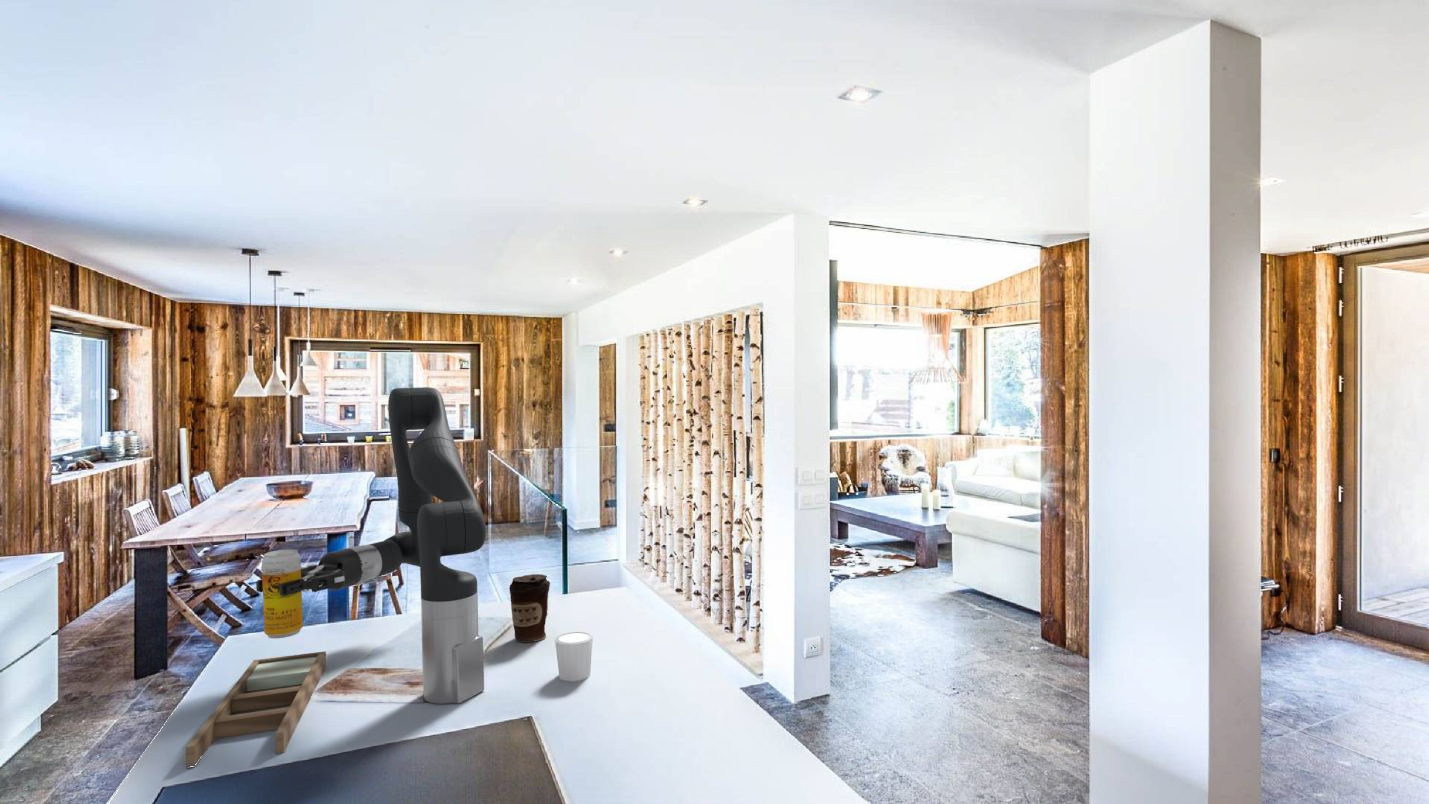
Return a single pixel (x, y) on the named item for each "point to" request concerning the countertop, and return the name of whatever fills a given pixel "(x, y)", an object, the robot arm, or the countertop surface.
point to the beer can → (280, 610)
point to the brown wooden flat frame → (263, 702)
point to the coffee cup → (529, 606)
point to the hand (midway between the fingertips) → (269, 588)
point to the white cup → (574, 655)
